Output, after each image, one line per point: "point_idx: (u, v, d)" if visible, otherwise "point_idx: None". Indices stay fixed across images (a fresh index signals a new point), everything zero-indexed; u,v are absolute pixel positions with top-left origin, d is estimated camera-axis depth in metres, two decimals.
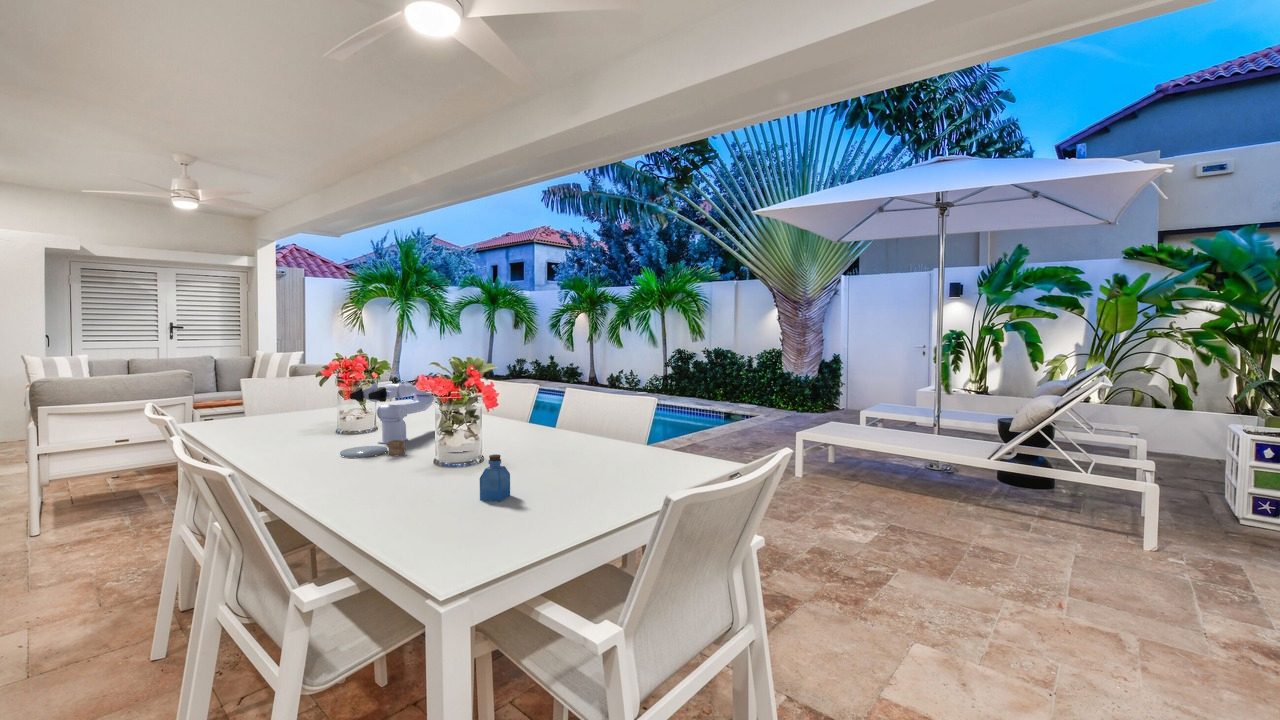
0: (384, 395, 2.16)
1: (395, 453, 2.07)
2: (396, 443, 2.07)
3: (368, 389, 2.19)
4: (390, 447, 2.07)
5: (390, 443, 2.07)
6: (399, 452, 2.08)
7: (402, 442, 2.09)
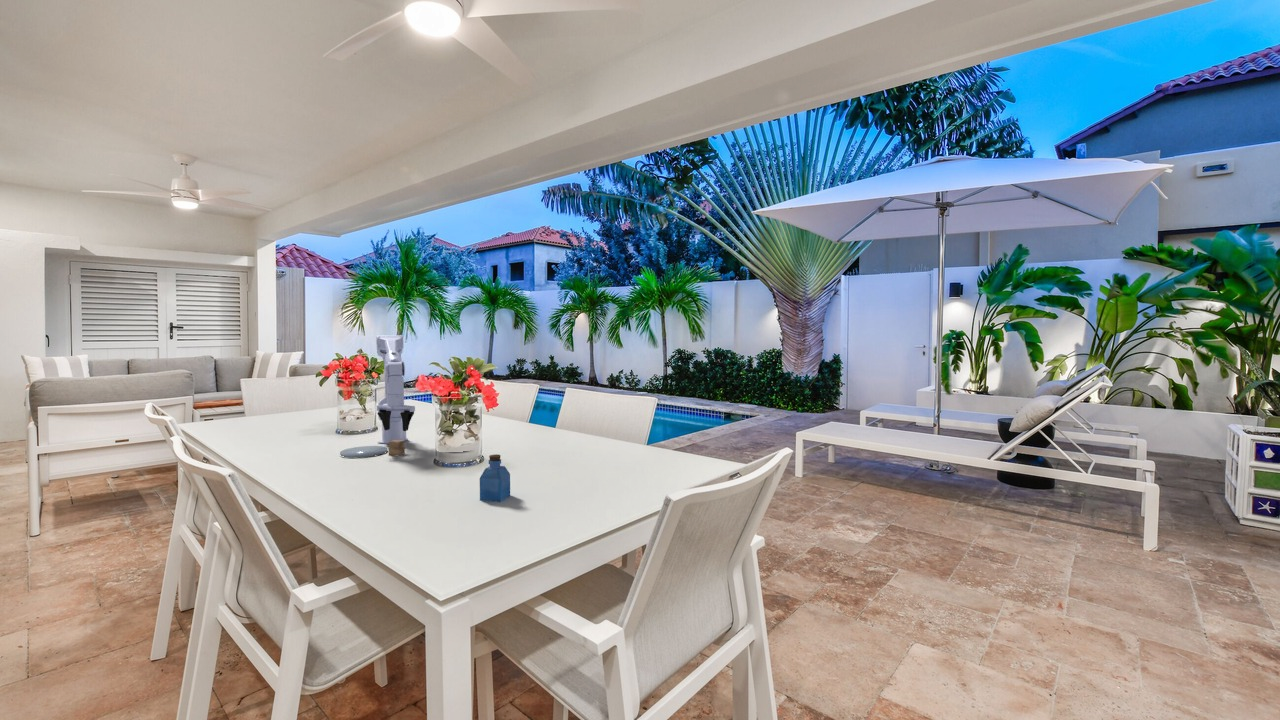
0: (410, 413, 2.08)
1: (395, 453, 2.07)
2: (395, 443, 2.07)
3: None
4: (390, 447, 2.07)
5: (390, 443, 2.07)
6: (399, 452, 2.08)
7: (402, 442, 2.09)
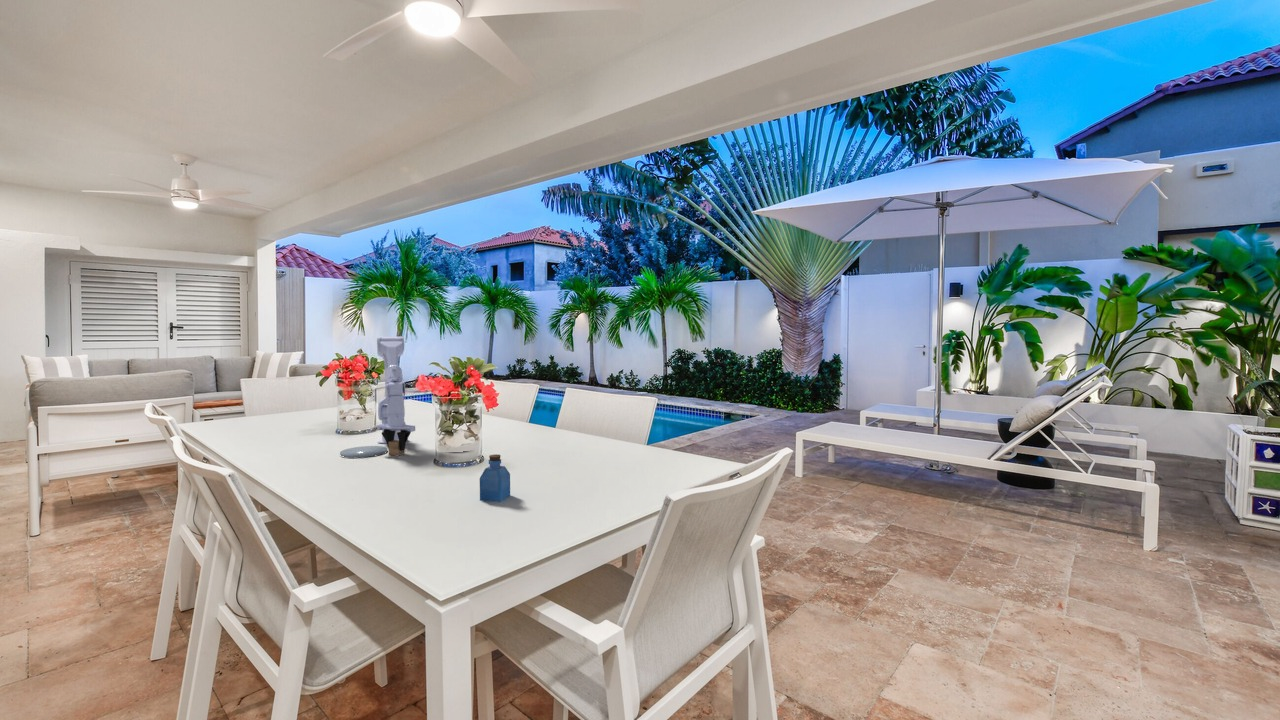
0: (407, 433, 2.08)
1: (395, 453, 2.07)
2: (396, 443, 2.07)
3: None
4: (390, 447, 2.07)
5: (390, 443, 2.07)
6: (399, 452, 2.08)
7: None
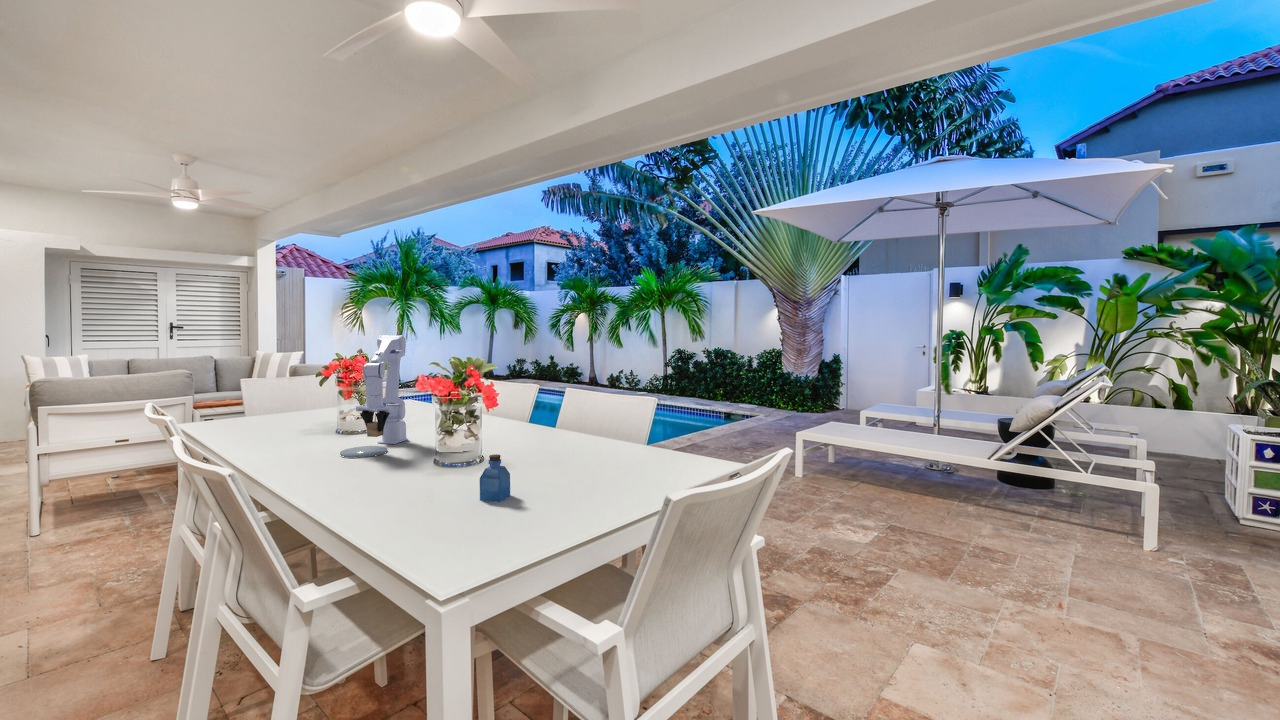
0: (385, 414, 2.09)
1: (373, 434, 2.08)
2: (374, 424, 2.07)
3: (366, 409, 2.08)
4: (368, 428, 2.08)
5: (368, 424, 2.08)
6: (377, 433, 2.08)
7: None
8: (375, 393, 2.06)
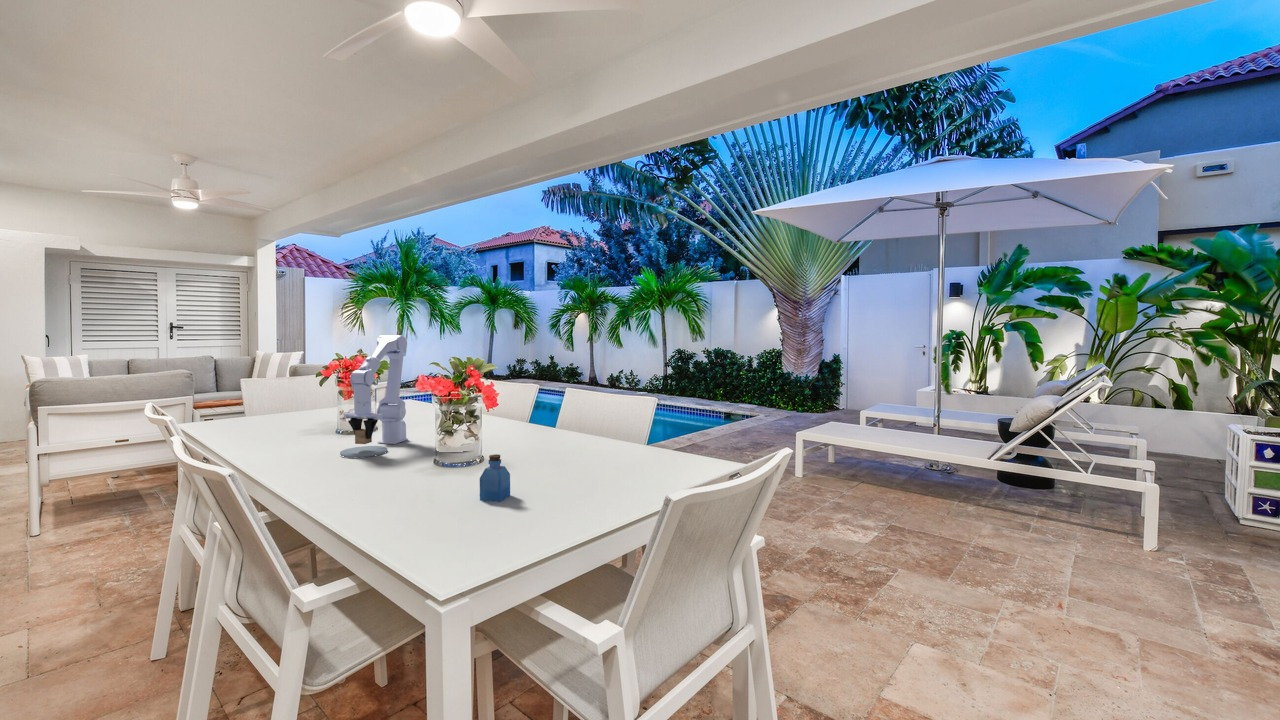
0: (373, 421, 2.10)
1: (361, 441, 2.08)
2: (362, 431, 2.08)
3: None
4: (356, 435, 2.08)
5: (356, 431, 2.08)
6: (365, 440, 2.09)
7: None
8: (361, 400, 2.07)
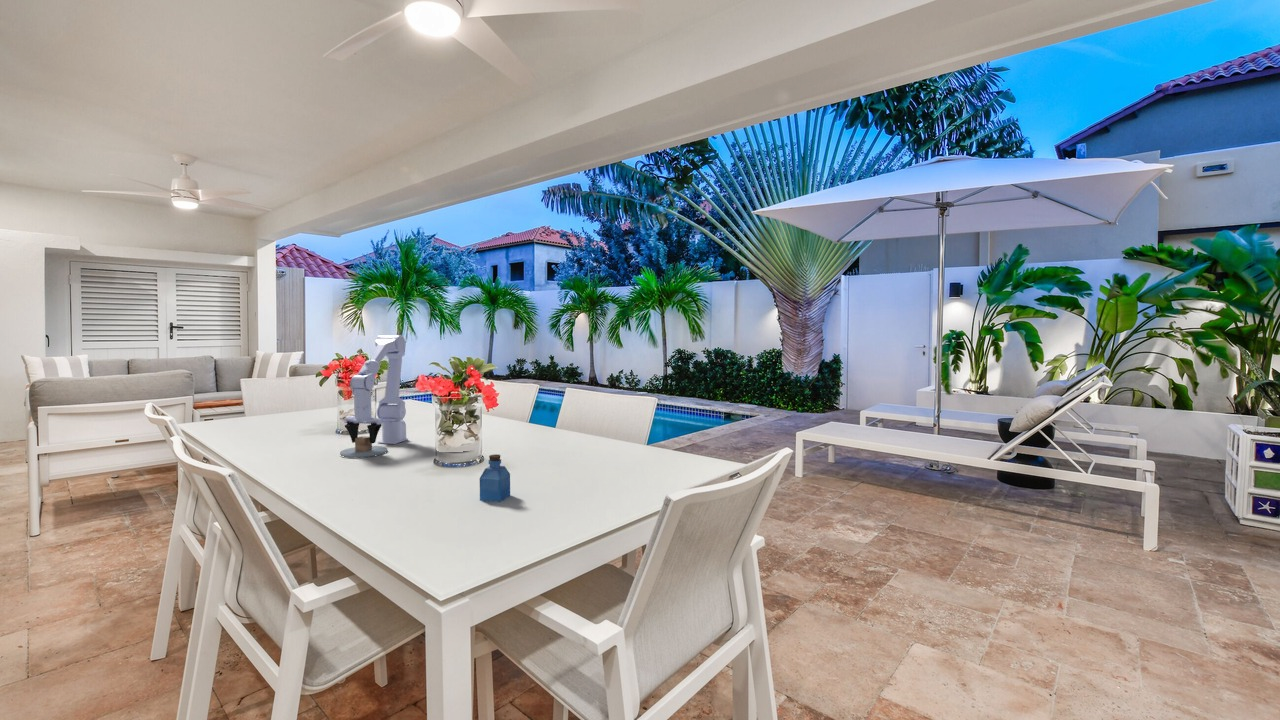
0: (377, 426, 2.09)
1: (362, 449, 2.08)
2: (362, 439, 2.08)
3: (354, 421, 2.09)
4: (357, 443, 2.09)
5: (357, 439, 2.09)
6: (366, 448, 2.09)
7: (369, 439, 2.11)
8: (361, 405, 2.07)
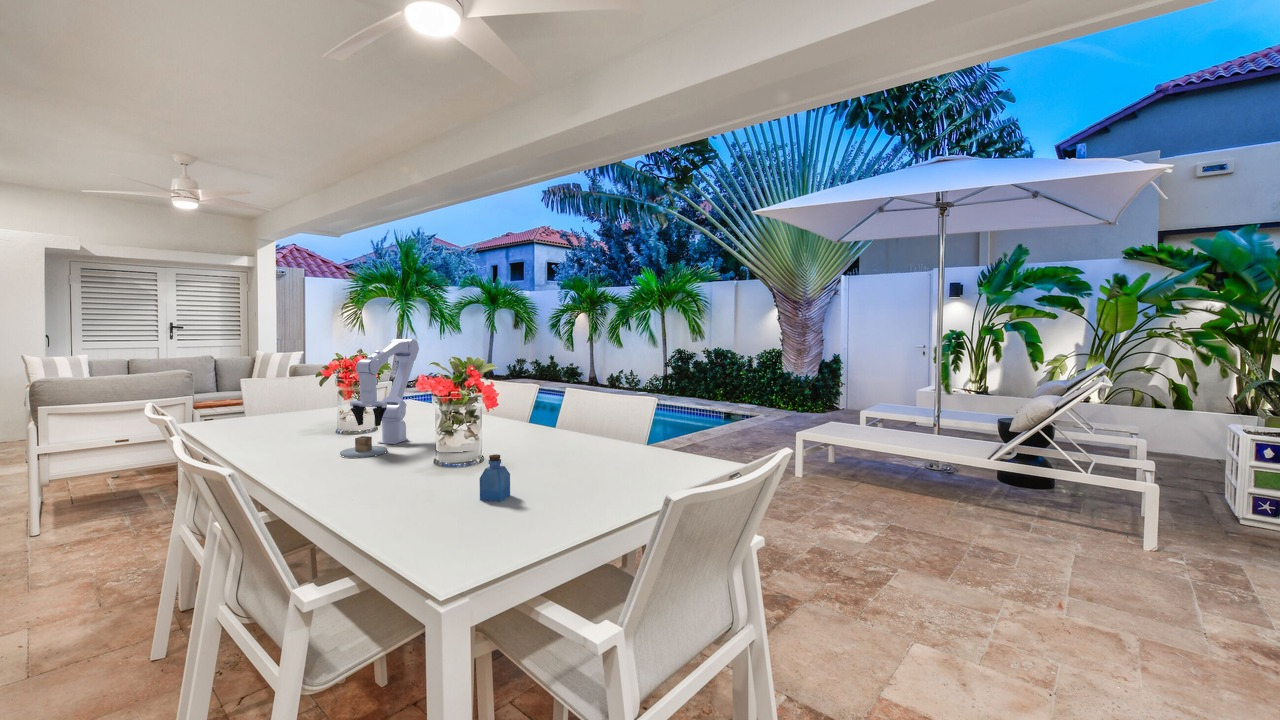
0: (382, 409, 2.15)
1: (362, 449, 2.08)
2: (362, 439, 2.08)
3: None
4: (357, 443, 2.09)
5: (357, 439, 2.09)
6: (366, 448, 2.09)
7: (369, 439, 2.11)
8: (366, 389, 2.13)
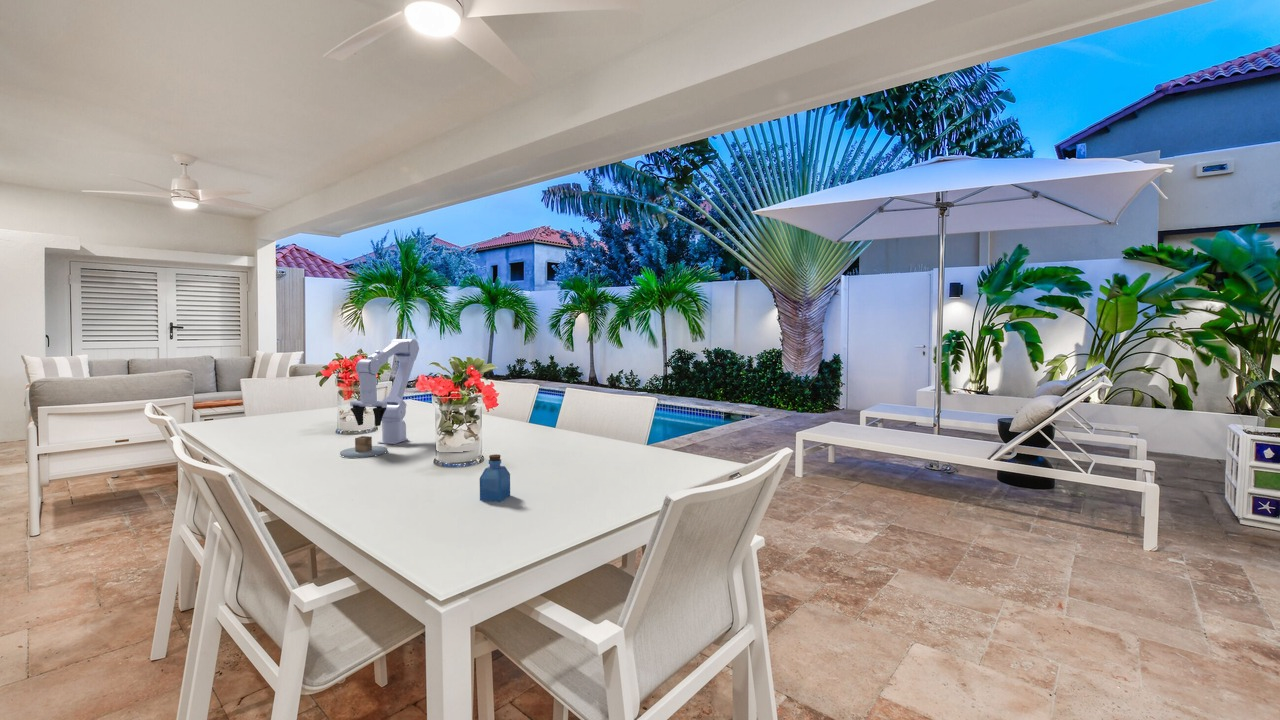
0: (382, 409, 2.15)
1: (362, 449, 2.08)
2: (362, 439, 2.08)
3: None
4: (357, 443, 2.09)
5: (357, 439, 2.09)
6: (366, 448, 2.09)
7: (369, 439, 2.11)
8: (366, 389, 2.13)
